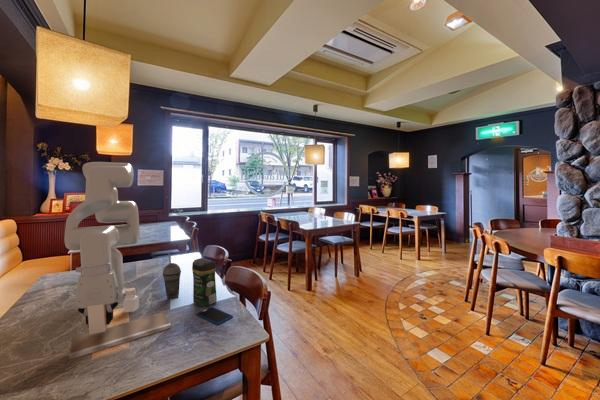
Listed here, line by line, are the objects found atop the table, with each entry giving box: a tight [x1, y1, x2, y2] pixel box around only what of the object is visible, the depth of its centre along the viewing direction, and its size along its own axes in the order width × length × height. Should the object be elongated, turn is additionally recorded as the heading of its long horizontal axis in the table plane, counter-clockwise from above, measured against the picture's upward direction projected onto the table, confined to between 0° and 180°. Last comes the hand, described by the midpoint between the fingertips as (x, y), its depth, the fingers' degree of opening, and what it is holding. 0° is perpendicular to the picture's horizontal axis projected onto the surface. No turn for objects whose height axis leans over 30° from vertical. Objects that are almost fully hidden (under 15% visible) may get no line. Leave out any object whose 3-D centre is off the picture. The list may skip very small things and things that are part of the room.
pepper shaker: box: [122, 287, 140, 313], centre depth 100 cm, size 4×4×10 cm
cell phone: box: [195, 306, 234, 326], centre depth 98 cm, size 7×14×1 cm, turn 55°
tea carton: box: [87, 304, 109, 334], centre depth 84 cm, size 4×6×9 cm
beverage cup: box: [162, 253, 182, 301], centre depth 113 cm, size 7×7×20 cm
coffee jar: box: [191, 257, 218, 308], centre depth 109 cm, size 10×8×19 cm
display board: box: [68, 312, 172, 360], centre depth 85 cm, size 26×13×2 cm, turn 128°
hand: (100, 323), depth 84 cm, fingers closed on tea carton, 4 cm apart
